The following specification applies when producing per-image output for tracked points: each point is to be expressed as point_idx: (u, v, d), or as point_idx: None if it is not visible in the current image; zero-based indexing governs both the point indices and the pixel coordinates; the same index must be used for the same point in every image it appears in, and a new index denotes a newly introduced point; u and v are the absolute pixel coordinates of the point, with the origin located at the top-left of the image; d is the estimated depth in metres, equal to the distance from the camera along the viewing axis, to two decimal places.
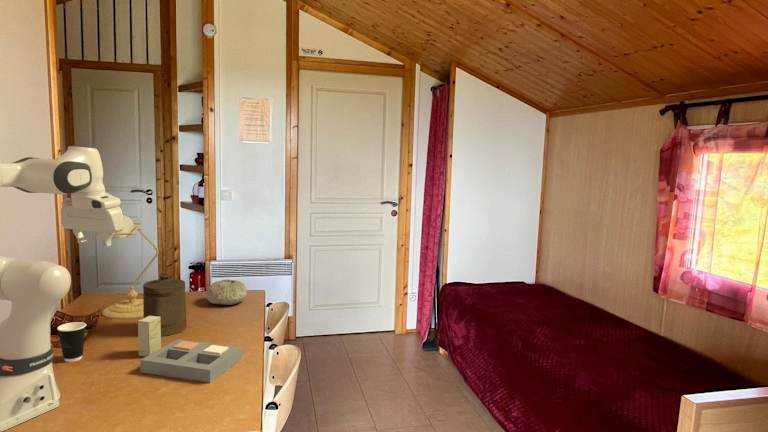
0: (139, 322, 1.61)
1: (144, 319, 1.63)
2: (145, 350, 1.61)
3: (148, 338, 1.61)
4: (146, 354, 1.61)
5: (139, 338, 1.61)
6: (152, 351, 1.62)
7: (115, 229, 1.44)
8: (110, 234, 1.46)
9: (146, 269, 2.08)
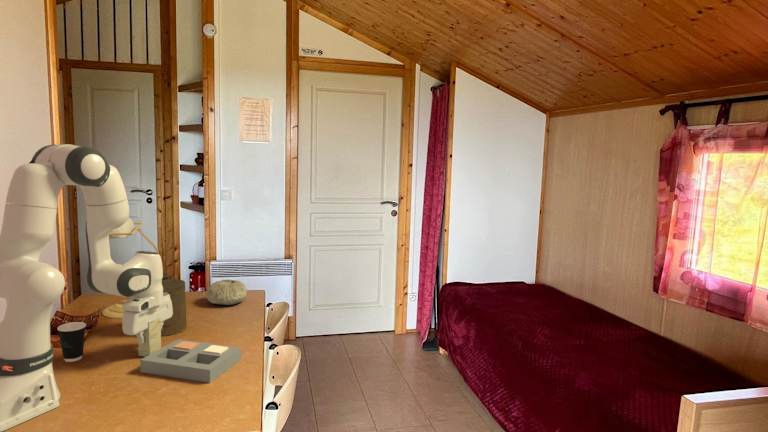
0: None
1: None
2: (145, 350, 1.61)
3: (148, 338, 1.61)
4: (146, 354, 1.61)
5: None
6: (152, 351, 1.62)
7: (123, 331, 1.54)
8: (137, 333, 1.58)
9: None
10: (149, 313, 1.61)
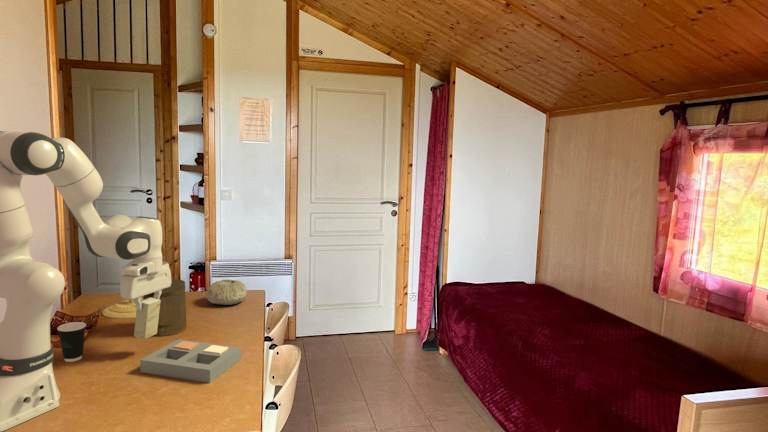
0: None
1: (144, 300, 1.61)
2: (141, 332, 1.60)
3: (146, 320, 1.59)
4: (141, 336, 1.60)
5: (136, 319, 1.60)
6: (148, 333, 1.61)
7: (121, 295, 1.52)
8: (135, 299, 1.57)
9: None
10: (148, 279, 1.59)
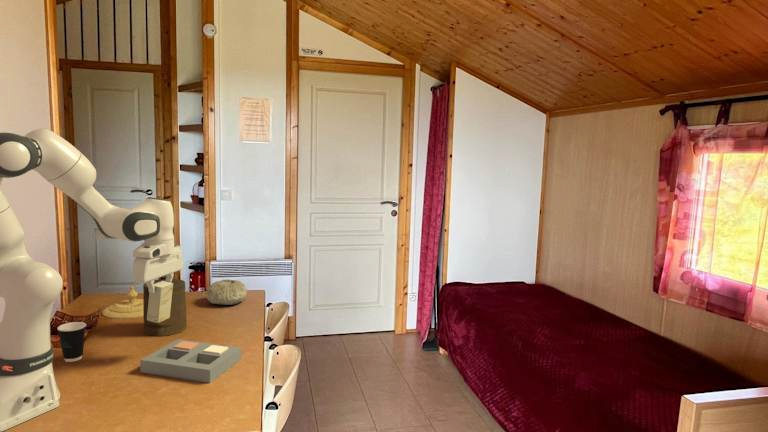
0: None
1: (157, 284, 1.58)
2: (154, 316, 1.57)
3: (159, 304, 1.56)
4: (154, 319, 1.57)
5: (149, 302, 1.57)
6: (161, 317, 1.58)
7: (134, 278, 1.49)
8: (148, 282, 1.53)
9: None
10: (160, 262, 1.56)
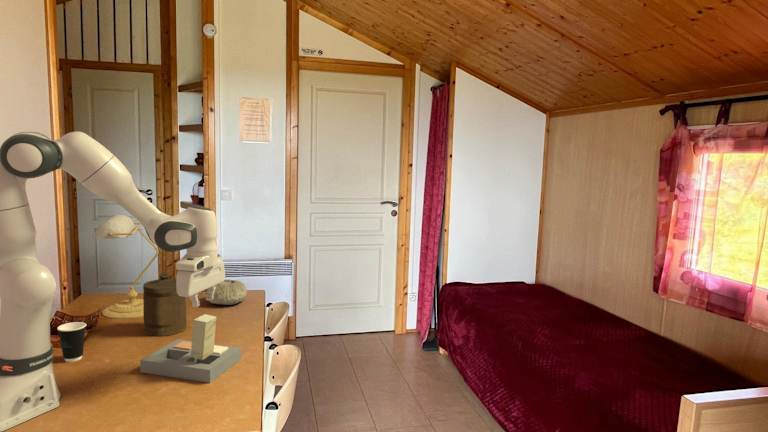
0: (195, 321, 1.48)
1: (200, 318, 1.50)
2: (198, 352, 1.49)
3: (203, 339, 1.48)
4: (199, 356, 1.49)
5: (193, 338, 1.49)
6: (205, 353, 1.50)
7: None
8: (191, 296, 1.45)
9: (146, 269, 2.08)
10: (203, 274, 1.47)
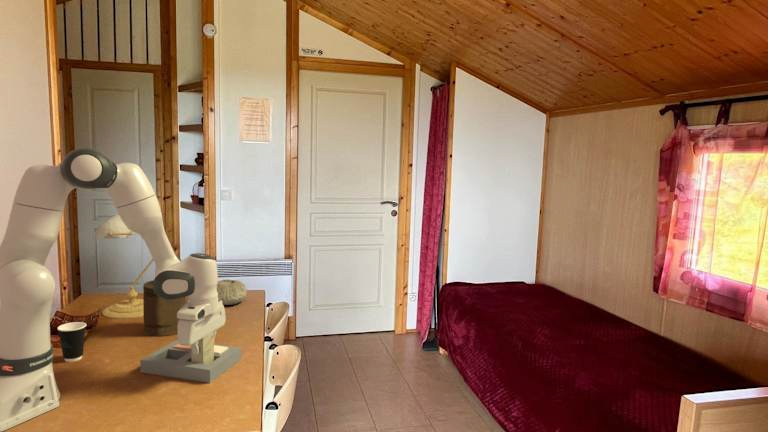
0: None
1: None
2: None
3: (202, 355, 1.49)
4: None
5: (192, 354, 1.50)
6: None
7: None
8: (192, 343, 1.46)
9: (146, 269, 2.08)
10: (204, 321, 1.49)
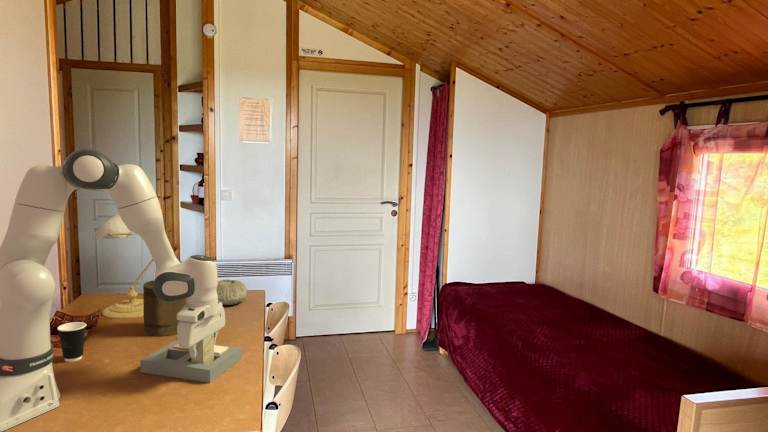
0: None
1: None
2: None
3: (202, 355, 1.49)
4: None
5: None
6: None
7: (178, 343, 1.42)
8: (190, 346, 1.45)
9: (146, 269, 2.08)
10: (204, 323, 1.49)
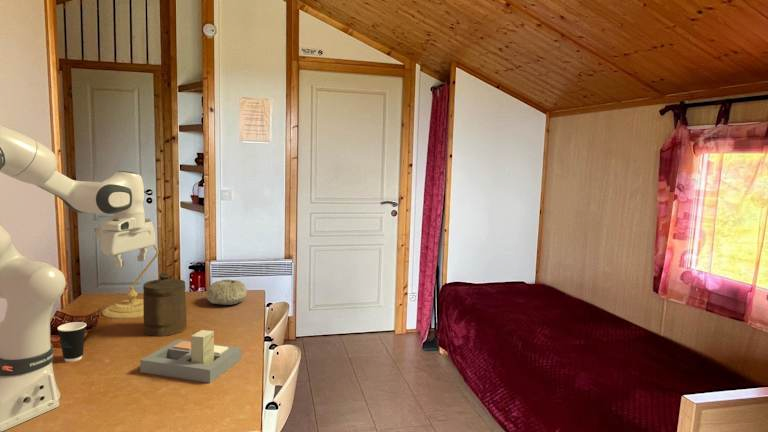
0: (192, 337, 1.49)
1: (197, 334, 1.51)
2: None
3: (202, 355, 1.49)
4: None
5: (192, 354, 1.50)
6: None
7: (102, 251, 1.49)
8: (115, 256, 1.52)
9: (146, 269, 2.08)
10: (130, 236, 1.56)
